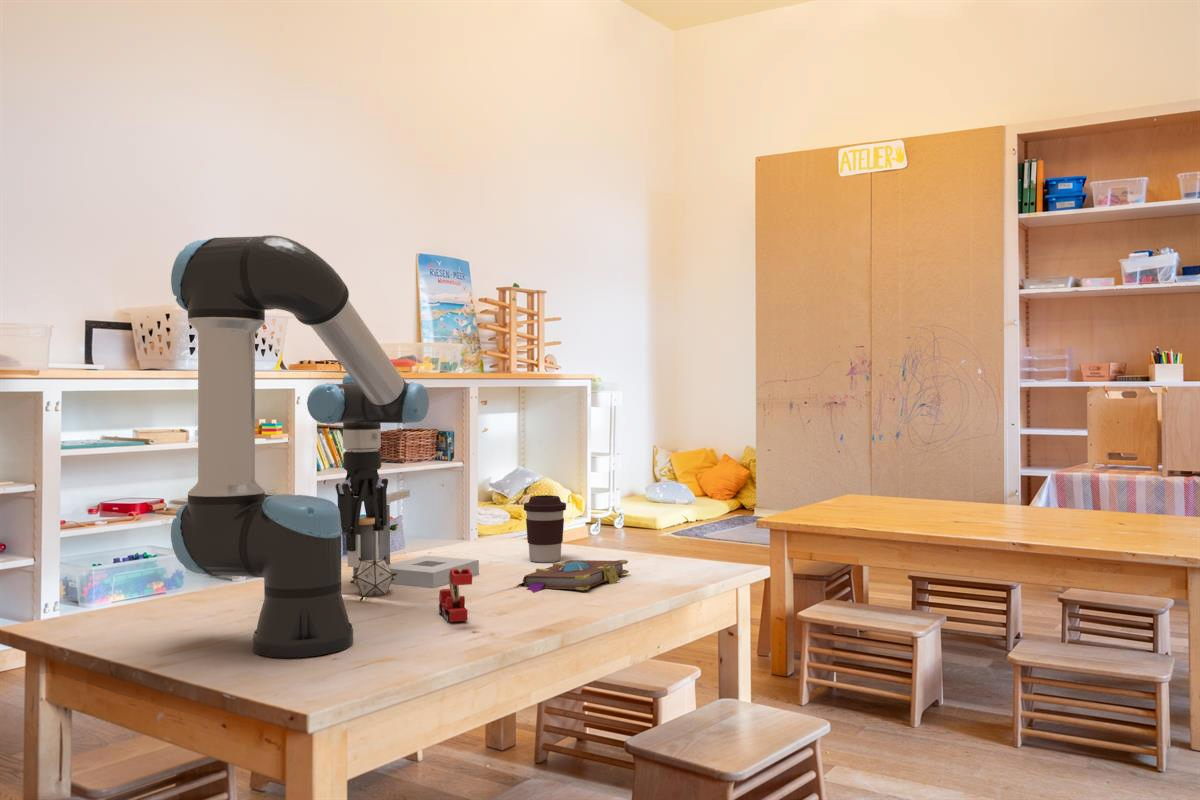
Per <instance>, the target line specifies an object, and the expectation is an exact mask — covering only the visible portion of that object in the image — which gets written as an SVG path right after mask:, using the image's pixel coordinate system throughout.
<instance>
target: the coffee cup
mask: <svg viewBox="0 0 1200 800" xmlns="http://www.w3.org/2000/svg"><path fill="white" fill-rule="evenodd" d="M566 510H567V503H566V502H563V501H561V497H560V496H559V495H551V494H549V495H548V494H547V495H546V494H545V495H544V494H543V495H533V496H530V498H529V500H528V501H527V502H525V503H523V511H525V512H526V518H525V523H526V535H527V536H526V538H527V543H528V551H529V555H528V556H529V560H530V561H531V562H534V563H546V564H547V563H557V562H558V561H560V560H561V558H562V543H563V541H564V526H565V523H564V521H565V519H564V512H565V511H566Z"/></svg>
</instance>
